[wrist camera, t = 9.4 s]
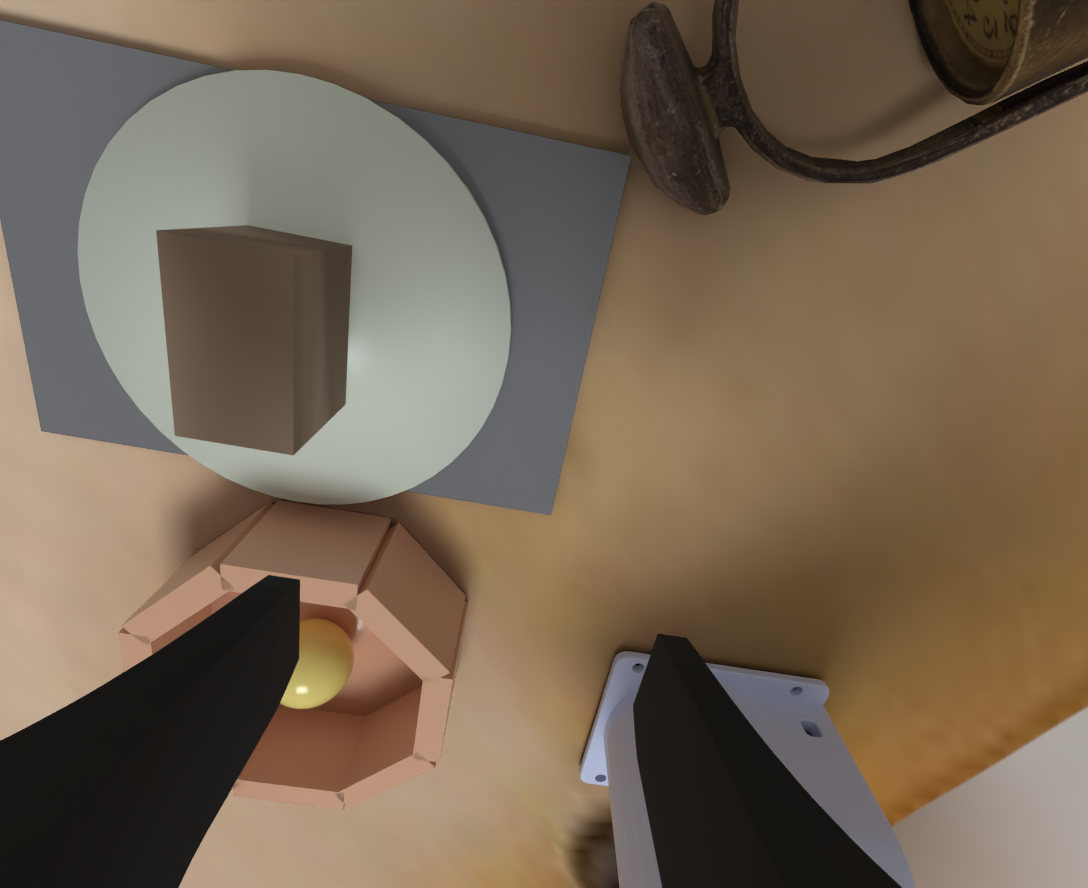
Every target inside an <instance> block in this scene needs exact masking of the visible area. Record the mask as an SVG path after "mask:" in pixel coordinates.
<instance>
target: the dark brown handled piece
mask: <svg viewBox="0 0 1088 888" xmlns="http://www.w3.org/2000/svg"><path fill="white" fill-rule="evenodd" d="M738 1H739V0H715V3H714V8H713V14H712V27H713V39H712V55H711V57H710V60H709V62H708V64H707V65H705V66H703V67H702V68H697V67H694V66H693V64H692V61H691V59H690V57H689V54H688V52H687V50H686V48H685V45H684V43H683V41H682V38H681V36H680V34H679V31H678V29H677V27H676V25H675V22H674V20H673V18H672V15H671V13H670V11H669V9H668V8H667V7H666V6H665V5H663V4H657V3H651V4H649V5H647V6H646V7H644V8H643V9H642V10H641V11H640V12H639V13H638V14H637V15H636V16H635V17H634V18H633V19H632V20H631V22H630V26H629V30H628V33H627V37H626V41H625V44H624V48H623V52H622V59H621V86H620V92H621V106H622V113H623V119H624V123H625V128H626V132H627V136H628V139H629V142H630V145H631V147H632V149H633V150H634V152H635V153H636V155H637V157H638V158H639V160H640V161H641V163H642V164H643V166H644V168H645V169H646V171H647V172H648V174H649V176H650V177H651V179H652V180H653V182H654V184H655V185H656V186H657V187H658V188H659V189H660V190H662V191H663V192H664V193H665V194H667V195H668V196H669V197H670V198H672V199H673V200H674V201H675V202H677V203H678V204H679V205H680V206H682V207H684V208H686V209H689V210H691V211H693V212H695V213H697V214H700V215H707V214H711V213H714V212H717V211H718V210H720V209H722V207H723V206H724V204H725V203H726V201H727V200H728V198H729V192H730V185H729V181H728V177H727V173H726V169H725V165H724V161H723V157H722V153H721V149H720V143H719V137H718V136H719V132H720V131H721V130H723V129H724V128H726V127H735V128H736V129H737V130H738V132H739V133H740V134H741V135H742V137H743V138H744V139H745V140H746V142H747V143H748V144H749V146H750V147H751V148H752V149H753V150H754V151H755V152H756V153H758V154H759V155H760V156H761V157H763V158H764V159H765V160H767V161H768V162H769V163H770V164H772V165H773V166H774V167H775V168H777V169H779V170H781V171H784V172H787V173H789V174H792V175H794V176H797V177H799V178H802V179H804V180H807V181H813V182H822V183H874V182H878V181H881V180H885V179H888V178H892V177H895V176H899V175H903V174H906V173H910V172H912V171H915V170H917V169H920V168H922V167H925V166H927V165H930V164H932V163H935V162H937V161H939V160H942V159H944V158H946V157H949V156H951V155H953V154H955V153H957V152H959V151H961V150H964V149H966V148H968V147H970V146H972V145H974V144H977V143H979V142H981V141H983V140H985V139H987V138H990V137H992V136H994V135H996V134H998V133H1000V132H1002V131H1005V130H1007V129H1009V128H1011V127H1013V126H1015V125H1018V124H1020V123H1022V122H1024V121H1026V120H1028V119H1031V118H1033V117H1035V116H1037V115H1039V114H1041V113H1043V112H1046V111H1048V110H1050V109H1052V108H1054V107H1056V106H1059V105H1061V104H1063V103H1065V102H1067V101H1069V100H1071V99H1074V98H1076V97H1078V96H1080V95H1082V94H1084V93H1086V92H1088V61H1087V62H1084V63H1082V64H1080V65H1078V66H1075V67H1073V68H1071V69H1068V70H1066V71H1064V72H1062V73H1059V74H1057V75H1055V76H1052V77H1050V78H1048V79H1046V80H1044V81H1042V82H1040V83H1037V84H1035V85H1033V86H1031V87H1029V88H1027V89H1025V90H1023V91H1021V92H1019V93H1017V94H1015V95H1013V96H1011V97H1009V98H1007V99H1005V100H1003V101H1001V102H999V103H997V104H995V105H993V106H991V107H989V108H987V109H985V110H983V111H981V112H979V113H977V114H975V115H973V116H971V117H969V118H967V119H965V120H963V121H961V122H959V123H957V124H955V125H953V126H951V127H949V128H947V129H945V130H943V131H941V132H939V133H937V134H935V135H933V136H931V137H929V138H927V139H925V140H923V141H920V142H918V143H916V144H914V145H912V146H910V147H908V148H905V149H902V150H900V151H897V152H894V153H891V154H889V155H886V156H883V157H880V158H878V159H873V160H865V161H858V162H856V161H848V160H839V159H827V158H815V157H811V156H808V155H806V154H803V153H801V152H798V151H796V150H793V149H791V148H788V147H786V146H784V145H783V144H782V143H781V142H780V141H778V140H777V139H776V138H775V137H774V136H773V135H771V134H770V133H769V132H768V131H767V130H766V129H765V128H764V126H763V125H762V123H761V122H760V120H759V119H758V118H757V116H756V115H755V113H754V112H753V110H752V109H751V107H750V104H749V101H748V98H747V95H746V92H745V89H744V86H743V84H742V81H741V78H740V72H739V65H738V57H737V50H736V42H735V36H736V24H737V13H738ZM909 3H910V8H911V12H912V14H913V17H914V21H915V24H916V27H917V30H918V33H919V37H920V40H921V43H922V46H923V48H924V50H925V52H926V55H927V57H928V59H929V61H930V63H931V66H932V68H933V70H934V72H935V73H936V75H937V76H938V77H939V79H940V80H941V82H942V83H943V84H944V86H945V87H946V89H947V90H948V91H949V92H950V93H951V94H953V95H955V96H956V97H958V98H959V99H961V100H963V101H964V102H966V103H967V104H974V105H985V104H988V103H992V102H995V101H997V100H999V99H1001V98H1003V97H1005V96H1007V95H1009V94H1012V93H1014V92H1016V91H1018V90H1020V89H1022V88H1024V87H1026V86H1028V85H1031V84H1033V83H1035V82H1037V81H1039V80H1041V79H1043V78H1045V77H1047V76H1049V75H1052V74H1054V73H1056V72H1058V71H1060V70H1062V69H1064V68H1066V67H1068V66H1071V65H1073V64H1075V63H1077V62H1079V61H1081V60H1083V59H1085V58H1088V0H909Z"/></svg>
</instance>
